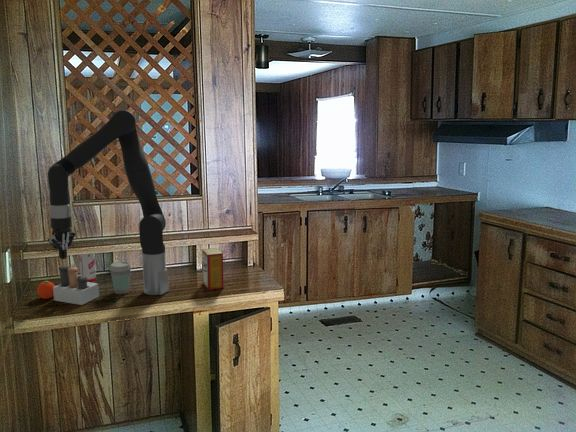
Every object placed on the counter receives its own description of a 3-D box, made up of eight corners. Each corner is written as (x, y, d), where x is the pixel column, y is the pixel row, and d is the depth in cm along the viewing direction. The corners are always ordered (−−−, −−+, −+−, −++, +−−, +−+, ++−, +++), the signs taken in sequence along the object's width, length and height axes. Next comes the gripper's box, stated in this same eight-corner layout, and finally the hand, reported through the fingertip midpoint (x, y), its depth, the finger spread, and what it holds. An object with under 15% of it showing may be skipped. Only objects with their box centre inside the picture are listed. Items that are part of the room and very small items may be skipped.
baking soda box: (202, 283, 230) (202, 248, 226) (217, 281, 232) (216, 247, 229) (208, 290, 221) (207, 254, 218) (223, 288, 224) (222, 252, 220)
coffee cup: (132, 294, 216) (131, 266, 213) (110, 296, 213) (109, 267, 211) (132, 287, 224) (131, 260, 221) (111, 289, 221) (109, 261, 219)
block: (99, 296, 213) (98, 283, 212) (82, 305, 204) (81, 291, 202) (72, 292, 217) (71, 279, 216) (54, 300, 208) (52, 287, 207)
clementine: (40, 294, 214) (38, 278, 212) (58, 293, 215) (57, 277, 214) (35, 302, 206) (34, 284, 205) (54, 300, 208) (53, 283, 206)
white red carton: (98, 279, 233) (96, 245, 229) (92, 284, 227) (89, 248, 223) (85, 279, 233) (82, 244, 230) (78, 284, 227) (75, 248, 224)
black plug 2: (90, 296, 209) (89, 277, 207) (84, 299, 205) (82, 280, 204) (83, 295, 210) (81, 276, 209) (76, 298, 207) (74, 279, 205)
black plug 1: (72, 285, 211) (71, 266, 209) (65, 288, 207) (64, 269, 206) (65, 283, 212) (63, 265, 211) (58, 286, 209) (56, 268, 207)
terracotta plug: (81, 286, 210) (80, 267, 208) (74, 289, 206) (73, 270, 204) (73, 285, 211) (72, 266, 209) (66, 288, 207) (65, 269, 206)
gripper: (56, 219, 196) (58, 264, 200) (80, 213, 208) (82, 255, 212) (40, 217, 198) (42, 261, 202) (65, 211, 211) (67, 253, 214)
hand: (63, 258), depth 207 cm, fingers closed
